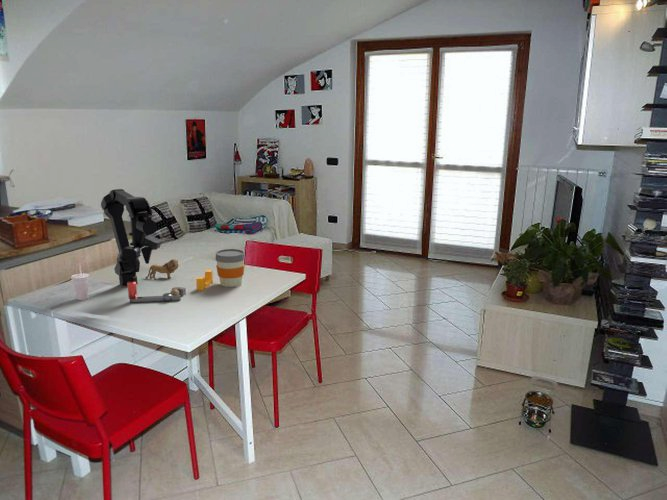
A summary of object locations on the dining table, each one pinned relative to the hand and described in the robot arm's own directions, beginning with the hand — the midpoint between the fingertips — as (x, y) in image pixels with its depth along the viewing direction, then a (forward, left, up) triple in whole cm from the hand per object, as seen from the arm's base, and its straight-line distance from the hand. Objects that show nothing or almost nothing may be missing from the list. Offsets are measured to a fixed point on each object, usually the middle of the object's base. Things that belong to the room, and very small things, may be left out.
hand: (141, 267), depth 202 cm
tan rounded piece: (+14, 0, -11) cm, 18 cm away
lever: (+9, -6, -11) cm, 16 cm away
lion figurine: (-5, +22, -13) cm, 26 cm away
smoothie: (-21, -10, -13) cm, 27 cm away
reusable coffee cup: (+28, +23, -13) cm, 38 cm away
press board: (+5, -6, -12) cm, 15 cm away
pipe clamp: (+18, +16, -13) cm, 27 cm away
